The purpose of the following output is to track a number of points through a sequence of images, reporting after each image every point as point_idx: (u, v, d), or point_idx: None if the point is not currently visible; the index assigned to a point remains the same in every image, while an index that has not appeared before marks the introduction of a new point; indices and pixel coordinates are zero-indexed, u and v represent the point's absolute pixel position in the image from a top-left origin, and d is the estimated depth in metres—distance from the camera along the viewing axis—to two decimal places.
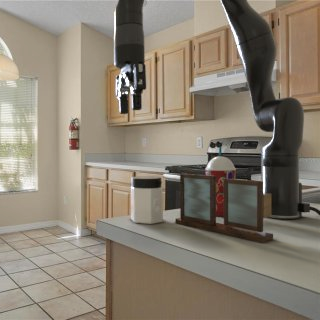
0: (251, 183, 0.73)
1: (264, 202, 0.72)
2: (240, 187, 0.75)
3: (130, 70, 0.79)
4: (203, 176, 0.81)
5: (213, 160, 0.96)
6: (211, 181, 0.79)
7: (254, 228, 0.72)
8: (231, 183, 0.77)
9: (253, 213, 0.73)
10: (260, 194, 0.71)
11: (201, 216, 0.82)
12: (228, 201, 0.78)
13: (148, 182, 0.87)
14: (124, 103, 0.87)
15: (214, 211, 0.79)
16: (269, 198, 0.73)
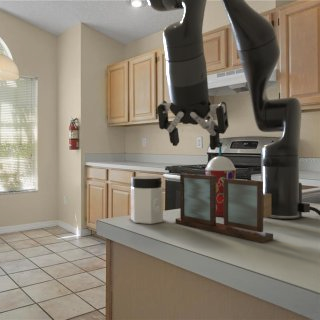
0: (251, 183, 0.73)
1: (264, 202, 0.72)
2: (240, 187, 0.75)
3: (204, 110, 0.66)
4: (203, 176, 0.81)
5: (213, 160, 0.96)
6: (211, 181, 0.79)
7: (254, 228, 0.72)
8: (231, 183, 0.77)
9: (253, 213, 0.73)
10: (260, 194, 0.71)
11: (201, 216, 0.82)
12: (228, 201, 0.78)
13: (148, 182, 0.87)
14: (176, 134, 0.75)
15: (214, 211, 0.79)
16: (269, 198, 0.73)
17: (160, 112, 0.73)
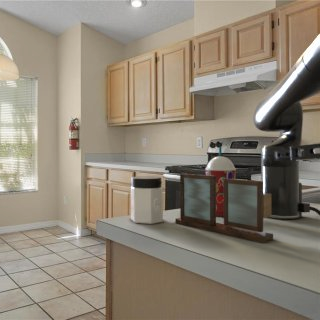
0: (251, 183, 0.73)
1: (264, 202, 0.72)
2: (240, 187, 0.75)
3: None
4: (203, 176, 0.81)
5: (213, 160, 0.96)
6: (211, 181, 0.79)
7: (254, 228, 0.72)
8: (231, 183, 0.77)
9: (253, 213, 0.73)
10: (260, 194, 0.71)
11: (201, 216, 0.82)
12: (228, 201, 0.78)
13: (148, 182, 0.87)
14: None
15: (214, 211, 0.79)
16: (269, 198, 0.73)
17: (317, 158, 0.56)
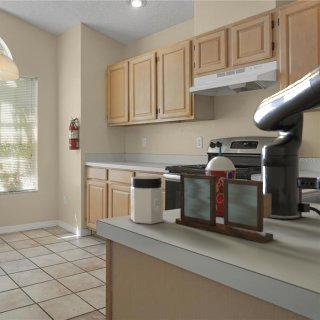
0: (251, 183, 0.73)
1: (264, 202, 0.72)
2: (240, 187, 0.75)
3: None
4: (203, 176, 0.81)
5: (213, 160, 0.96)
6: (211, 181, 0.79)
7: (254, 228, 0.72)
8: (231, 183, 0.77)
9: (253, 213, 0.73)
10: (260, 194, 0.71)
11: (201, 216, 0.82)
12: (228, 201, 0.78)
13: (148, 182, 0.87)
14: None
15: (214, 211, 0.79)
16: (269, 198, 0.73)
17: None
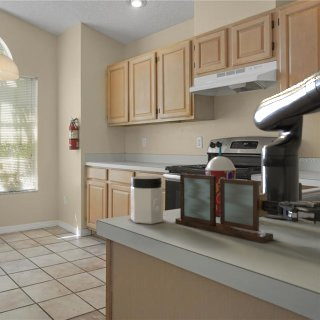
0: (247, 183, 0.74)
1: (259, 202, 0.72)
2: (236, 187, 0.76)
3: None
4: (203, 176, 0.81)
5: (213, 160, 0.96)
6: (211, 181, 0.79)
7: (250, 227, 0.73)
8: (227, 183, 0.78)
9: (249, 212, 0.74)
10: (256, 194, 0.72)
11: (201, 216, 0.82)
12: (224, 201, 0.79)
13: (148, 182, 0.87)
14: None
15: (214, 211, 0.79)
16: (265, 198, 0.74)
17: None
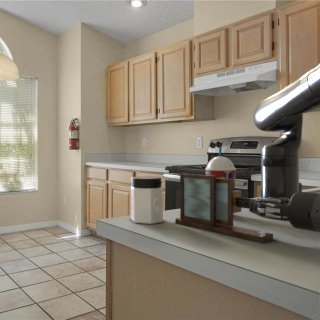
0: (222, 181, 0.79)
1: (234, 199, 0.77)
2: None
3: None
4: (203, 176, 0.81)
5: (213, 160, 0.96)
6: (211, 181, 0.79)
7: (225, 222, 0.78)
8: None
9: (224, 208, 0.79)
10: (230, 191, 0.77)
11: (201, 216, 0.82)
12: None
13: (148, 182, 0.87)
14: None
15: (214, 211, 0.79)
16: (239, 195, 0.79)
17: None
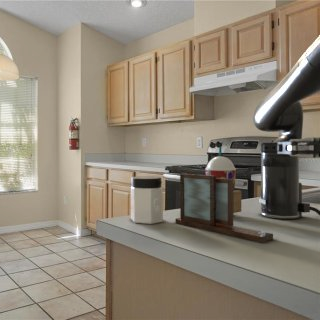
0: (222, 181, 0.79)
1: (234, 199, 0.77)
2: None
3: None
4: (203, 176, 0.81)
5: (213, 160, 0.96)
6: (211, 181, 0.79)
7: (225, 222, 0.78)
8: None
9: (224, 208, 0.79)
10: (230, 191, 0.77)
11: (201, 216, 0.82)
12: None
13: (148, 182, 0.87)
14: None
15: (214, 211, 0.79)
16: (239, 195, 0.79)
17: None
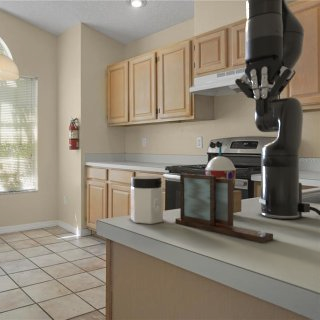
0: (222, 181, 0.79)
1: (234, 199, 0.77)
2: None
3: (276, 65, 0.72)
4: (203, 176, 0.81)
5: (213, 160, 0.96)
6: (211, 181, 0.79)
7: (225, 222, 0.78)
8: None
9: (224, 208, 0.79)
10: (230, 191, 0.77)
11: (201, 216, 0.82)
12: None
13: (148, 182, 0.87)
14: None
15: (214, 211, 0.79)
16: (239, 195, 0.79)
17: (240, 84, 0.79)
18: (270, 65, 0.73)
